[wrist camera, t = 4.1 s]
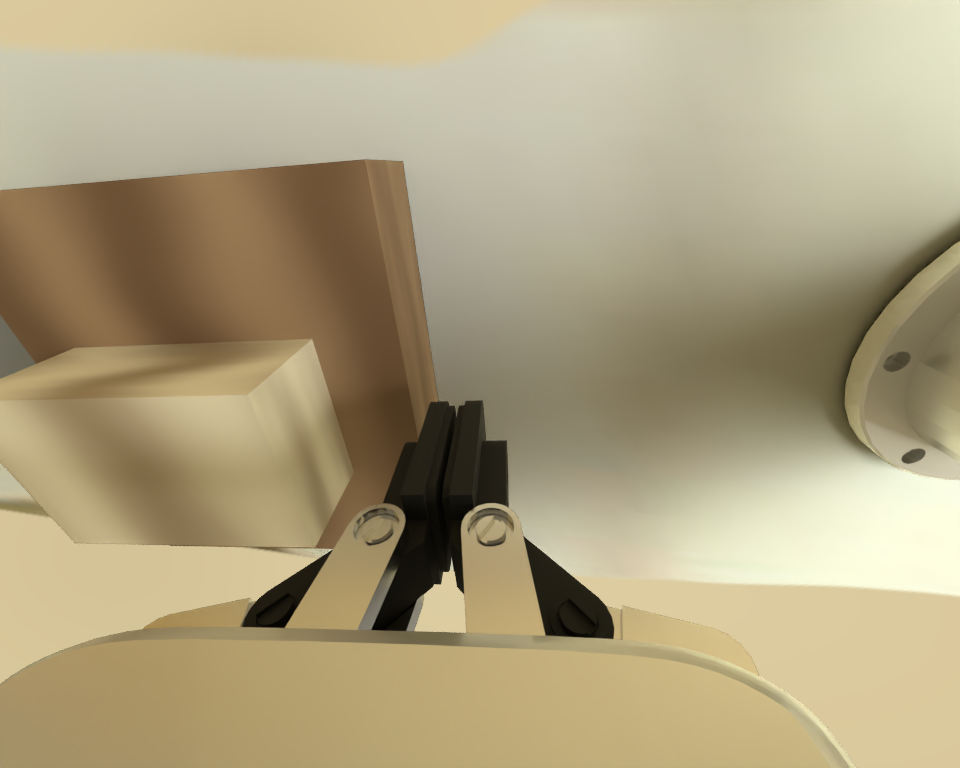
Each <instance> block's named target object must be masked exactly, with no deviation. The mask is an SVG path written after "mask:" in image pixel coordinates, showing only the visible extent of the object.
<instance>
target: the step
mask: <svg viewBox="0 0 960 768" xmlns="http://www.w3.org/2000/svg"><path fill="white" fill-rule="evenodd" d="M0 315H1V317H2V318H3V319H4V321H5V322H6V323H7V325H8V326H9V328H10V329H11V330H12V332H13V333H14V334H15V336H16V337H17V338H18V340H19V341H20V342H21V344H22V345H23V347H24V348H25V349H26V351H27V352H28V353H29V355H30V356H31V357H32V359H33V360H34V361H35V363H36V364H37V363H40V362H42V361H44V360H47V359H49V358H52V357H54V356H56V355H59V354H61V353H64V352H66V351H68V350H71V349H73V348H86V347H113V346H139V345H165V344H192V343H218V342H244V341H270V340H297V339H312V340H313V343H314V347H315V350H316V353H317V356H318V359H319V362H320V366H321V369H322V372H323V375H324V378H325V381H326V385H327V388H328V391H329V394H330V397H331V400H332V404H333V407H334V410H335V413H336V416H337V420H338V423H339V426H340V429H341V432H342V435H343V439H344V442H345V445H346V448H347V451H348V454H349V458H350V461H351V464H352V467H353V470H354V473H353V475H352V477H351V479H350V481H349V483H348V485H347V487H346V489H345V491H344V492H343V494H342V496H341V498H340V500H339V502H338V504H337V506H336V508H335V510H334V512H333V514H332V516H331V518H330V520H329V522H328V524H327V526H326V528H325V530H324V531H323V533H322V535H321V537H320V539H319V541H318V543H317V545H316V547H315V548H327V549H334V547H335V546H336V544H337V542H338V541H339V539H340V538H341V536H342V534H343V533H344V531H345V530H346V528H347V526H348V525H349V523H350V522H351V520H352V519H353V518H354V517H355V515H357V514H358V513H359V512H361V511H362V510H363V509H365V508H367V507H369V506H372V505H376V504H380V503H383V501H384V498H385V496H386V493H387V490H388V487H389V485H390V482H391V479H392V476H393V474H394V471H395V468H396V466H397V463H398V460H399V457H400V455H401V452H402V449H403V447H404V445H405V443H406V442H418V438H419V435H420V432H421V429H422V426H423V423H424V420H425V417H426V414H427V411H428V408H429V404H430V402H438V396H437V389H436V383H435V376H434V369H433V362H432V356H431V349H430V342H429V335H428V329H427V322H426V315H425V308H424V301H423V295H422V288H421V281H420V274H419V268H418V261H417V254H416V247H415V241H414V234H413V227H412V220H411V214H410V207H409V200H408V193H407V187H406V180H405V173H404V166H403V161H385V160H353V161H342V162H330V163H318V164H306V165H295V166H283V167H271V168H259V169H248V170H236V171H224V172H212V173H201V174H189V175H177V176H165V177H154V178H142V179H130V180H118V181H107V182H95V183H83V184H71V185H60V186H48V187H36V188H24V189H13V190H1V191H0ZM170 546H196V545H170ZM218 547H220V546H218ZM221 547H251V546H221ZM272 548H307V547H272Z"/></svg>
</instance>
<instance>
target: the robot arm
mask: <svg viewBox="0 0 960 768" xmlns="http://www.w3.org/2000/svg"><path fill="white" fill-rule="evenodd" d="M845 409H846V413H847V417H848V421H849V425H850V426H851V428H852V429H853V431H854V432H855V434H856V435H857V437H858V438H859V440H860V441H861V442H863V443H864V444H865V445H866V446H867V447H869V448H870V449H871V450H872V451H873V452H875V453H876V454H877V455H878V456H879V457H880V458H882V459H883V460H885V461H886V462H888V463H889V464H891V465H893V466H894V467H896V468H898V469H901V470H904V471H907V472H910V473H913V474H916V475H919V476H924V477H931V478H938V479H945V480H960V241H959V242H957V243H956V244H954V245H953V246H952V247H950V248H949V249H948V250H947V251H945V252H944V253H943V254H942V255H940V256H939V257H938V258H937V259H935V260H934V261H933V262H932V263H931V264H929V265H928V266H927V267H926V268H924V269H923V270H922V271H921V272H919V273H918V274H917V275H916V276H915V277H914V278H913V279H912V280H911V281H910V282H909V283H908V284H907V285H906V286H905V287H904V288H903V289H902V290H901V291H900V292H899V293H898V294H897V295H896V296H895V298H894V299H893V300H892V301H891V302H890V303H889V304H888V305H887V306H886V308H885V309H884V310H883V312H882V313H881V314H880V316H879V317H878V318H877V320H876V321H875V322H874V324H873V325H872V326H871V328H870V329H869V330H868V332H867V334H866V335H865V337H864V339H863V341H862V343H861V345H860V347H859V349H858V351H857V352H856V354H855V356H854V358H853V361H852V364H851V367H850V371H849V374H848V377H847V381H846V386H845ZM451 558H452V561H453V567H454V572H455V576H456V582H457V587H458V588H459V589H460V590H461V592H462V593H463V594H464V597H465V615H466V633H450V632H449V633H448V632H415V631H414V630H415V627H416V624H417V621H418V618H419V615H420V612H421V609H422V606H423V601H424V594H425V593H426V592H427V591H428V590H429V589H431V588H432V587H433V585H434V584H441V581H442V575H443V572H449V570H450V565H451ZM0 768H857V766H856V765H855V763H854V762H853V761H852V759H851V758H850V756H849V755H848V754H847V752H846V751H845V750H844V748H843V747H842V746H841V745H840V743H839V742H838V741H837V740H836V738H835V737H834V736H833V735H832V733H831V732H830V731H829V730H828V729H827V728H826V727H825V725H824V724H823V723H822V722H821V721H820V720H819V719H818V718H817V717H816V716H815V715H814V714H813V713H812V712H811V711H810V710H809V709H808V708H807V707H805V706H804V705H803V704H802V703H800V702H799V701H798V700H797V699H795V698H794V697H792V696H791V695H790V694H788V693H787V692H785V691H784V690H782V689H781V688H779V687H777V686H776V685H774V684H772V683H770V682H769V681H767V680H765V679H763V678H761V677H760V676H759V674H758V671H757V668H756V666H755V664H754V662H753V660H752V657H751V656H750V655H749V653H748V652H747V651H746V650H745V649H744V647H743V646H742V645H741V644H740V643H739V642H737V641H736V640H735V639H733V638H732V637H730V636H729V635H728V634H726V633H724V632H721V631H719V630H717V629H714V628H710V627H706V626H702V625H698V624H694V623H690V622H686V621H682V620H678V619H674V618H670V617H666V616H662V615H658V614H654V613H650V612H646V611H641V610H637V609H634V608H630V607H626V606H622V610H619V609H615V608H611V607H607V606H606V605H605V604H604V603H603V602H602V601H601V600H600V599H599V598H598V597H597V596H596V595H594V594H593V593H592V592H591V591H590V590H588V589H587V588H586V587H585V586H583V585H582V584H581V583H580V582H579V581H577V580H576V579H575V578H574V577H573V576H571V575H570V574H569V573H568V572H566V571H565V570H564V569H563V568H562V567H560V566H559V565H558V564H557V563H555V562H554V561H553V560H552V559H551V558H549V557H548V556H547V555H546V554H544V553H543V552H542V551H541V550H540V549H538V548H537V547H536V546H535V545H533V544H532V543H531V542H530V541H529V540H527V539H526V538H525V537H524V536H523V533H522V528H521V524H520V521H519V518H518V516H517V515H516V514H515V513H514V511H513V510H512V509H510V508H508V456H507V441H486V434H485V421H484V408H483V401H465V405H461V406H459V408H458V413H457V418H456V411H455V406H449V403H448V401H444V402H430V404H429V408H428V411H427V414H426V417H425V420H424V423H423V426H422V429H421V432H420V435H419V438H418V442H406V443H405V445H404V447H403V449H402V452H401V455H400V457H399V460H398V463H397V466H396V468H395V471H394V474H393V476H392V479H391V482H390V485H389V487H388V490H387V493H386V496H385V498H384V501H383V503H380V504H376V505H372V506H369V507H367V508H365V509H363V510H362V511H361V512H359V513H358V514H357V515H355V517H354V518H353V519H352V520H351V522H350V523H349V525H348V526H347V528H346V530H345V531H344V533H343V534H342V536H341V538H340V539H339V541H338V542H337V544H336V546H335V547H334V549H333V550H331V551H330V552H328V553H327V554H325V555H324V556H322V557H321V558H319V559H317V560H316V561H314V562H313V563H311V564H310V565H308V566H307V567H305V568H304V569H302V570H300V571H299V572H297V573H296V574H294V575H292V576H291V577H289V578H288V579H286V580H285V581H283V582H282V583H280V584H278V585H277V586H275V587H274V588H272V589H271V590H269V591H268V592H266V593H265V594H264V595H263V596H261V597H260V598H259V599H258V600H257V601H255V602H253V601H252V600H251V598H247V599H242V600H237V601H232V602H228V603H223V604H218V605H213V606H208V607H203V608H199V609H194V610H190V611H184V612H180V613H175V614H170V615H167V616H164V617H162V618H159V619H157V620H155V621H154V622H152V623H150V624H149V625H147V626H146V627H144V629H142V630H135V631H127V632H123V633H118V634H113V635H109V636H105V637H101V638H96V639H93V640H90V641H87V642H84V643H81V644H79V645H75V646H73V647H70V648H67V649H64V650H61V651H59V652H56V653H54V654H51V655H49V656H47V657H44V658H42V659H40V660H38V661H36V662H34V663H32V664H30V665H28V666H27V667H25V668H23V669H22V670H20V671H18V672H17V673H15V674H13V675H12V676H10V677H9V678H8V679H6V680H5V681H4V682H2V683H1V684H0Z"/></svg>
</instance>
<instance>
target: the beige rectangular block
mask: <svg viewBox="0 0 960 768" xmlns="http://www.w3.org/2000/svg"><path fill="white" fill-rule="evenodd" d="M0 463H1V464H2V465H3V466H4V467H5V468H6V469H7V470H8V471H9V472H10V473H11V474H12V475H13V477H14V478H15V479H16V480H17V481H18V482H19V483H20V484H21V485H22V486H23V487H24V488H25V490H26V491H27V492H28V493H29V494H30V495H31V496H32V497H33V498H34V499H35V500H36V501H37V503H38V504H39V505H40V506H41V507H42V508H43V509H44V510H45V511H46V512H47V513H48V514H49V516H50V517H51V518H52V519H53V520H54V521H55V522H56V523H57V524H58V525H59V526H60V527H61V528H62V530H63V531H64V532H65V533H66V534H67V535H68V536H69V537H70V538H71V539H72V540H73V541H74V543H86V544H92V543H93V544H141V545H196V546H251V547H307V548H315V547H316V545H317V543H318V541H319V539H320V537H321V535H322V533H323V531H324V530H325V528H326V526H327V524H328V522H329V520H330V518H331V516H332V514H333V512H334V510H335V508H336V506H337V504H338V502H339V500H340V498H341V496H342V494H343V492H344V491H345V489H346V487H347V485H348V483H349V481H350V479H351V477H352V475H353V473H354V470H353V467H352V464H351V461H350V458H349V454H348V451H347V448H346V445H345V442H344V439H343V435H342V432H341V429H340V426H339V423H338V420H337V416H336V413H335V410H334V407H333V404H332V400H331V397H330V394H329V391H328V388H327V385H326V381H325V378H324V375H323V372H322V369H321V366H320V362H319V359H318V356H317V353H316V350H315V347H314V343H313V340H312V339H297V340H270V341H244V342H218V343H192V344H165V345H139V346H113V347H86V348H73V349H71V350H68V351H66V352H64V353H61V354H59V355H56V356H54V357H52V358H49V359H47V360H44V361H42V362H40V363H37V364H35V365H32V366H30V367H28V368H25V369H23V370H20V371H18V372H16V373H13V374H11V375H8V376H6V377H4V378H1V379H0Z"/></svg>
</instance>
